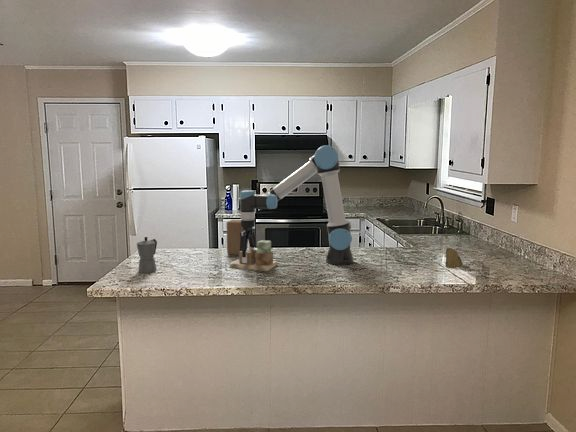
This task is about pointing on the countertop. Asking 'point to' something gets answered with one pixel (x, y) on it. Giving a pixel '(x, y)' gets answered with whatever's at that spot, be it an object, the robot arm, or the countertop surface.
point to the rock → (452, 258)
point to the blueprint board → (252, 265)
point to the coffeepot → (147, 255)
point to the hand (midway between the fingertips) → (248, 261)
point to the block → (233, 237)
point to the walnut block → (249, 256)
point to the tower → (264, 253)
